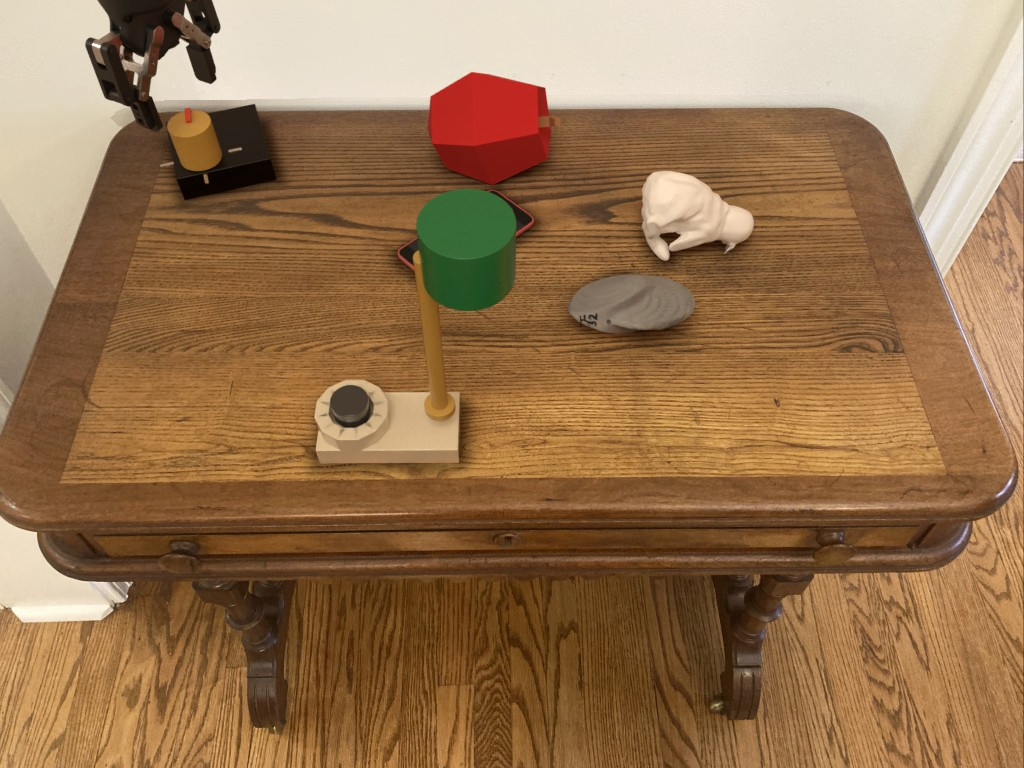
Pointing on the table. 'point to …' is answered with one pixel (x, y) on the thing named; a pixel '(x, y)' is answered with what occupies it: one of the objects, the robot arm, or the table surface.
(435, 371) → the lamp
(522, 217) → the smartphone
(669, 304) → the seashell
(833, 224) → the table surface
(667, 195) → the cream figurine
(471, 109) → the apple
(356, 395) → the lamp switch
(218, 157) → the dimmer knob
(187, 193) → the panel
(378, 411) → the lamp base
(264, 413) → the table surface
